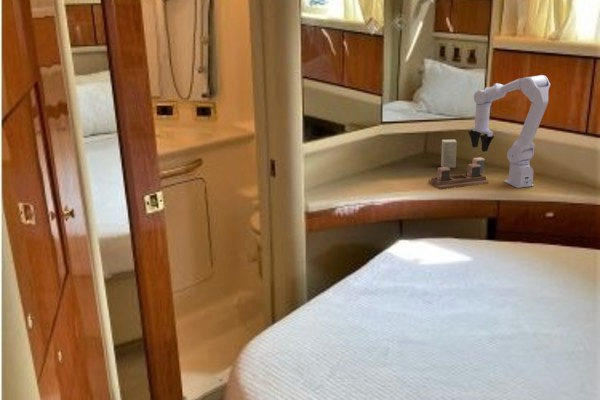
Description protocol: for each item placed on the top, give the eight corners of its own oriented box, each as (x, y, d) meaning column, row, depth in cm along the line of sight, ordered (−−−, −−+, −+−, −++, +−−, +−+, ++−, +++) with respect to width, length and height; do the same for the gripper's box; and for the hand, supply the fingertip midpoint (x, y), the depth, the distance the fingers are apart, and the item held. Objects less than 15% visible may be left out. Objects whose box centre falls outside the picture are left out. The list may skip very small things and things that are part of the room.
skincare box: (454, 165, 268) (455, 139, 264) (455, 167, 264) (457, 141, 260) (440, 165, 269) (441, 139, 265) (441, 167, 265) (443, 141, 260)
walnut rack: (488, 183, 242) (489, 167, 239) (440, 189, 236) (441, 172, 234) (475, 176, 251) (476, 161, 248) (428, 182, 245) (429, 166, 243)
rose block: (484, 172, 256) (485, 159, 254) (476, 173, 255) (477, 160, 253) (479, 170, 259) (480, 157, 257) (471, 171, 258) (472, 158, 256)
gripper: (464, 115, 255) (462, 146, 260) (483, 122, 242) (480, 154, 246) (479, 114, 257) (476, 144, 261) (498, 120, 244) (495, 152, 248)
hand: (479, 149), depth 254 cm, fingers open, 7 cm apart
